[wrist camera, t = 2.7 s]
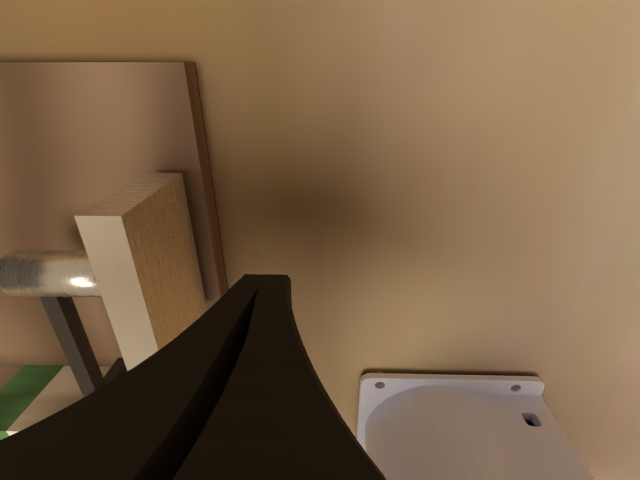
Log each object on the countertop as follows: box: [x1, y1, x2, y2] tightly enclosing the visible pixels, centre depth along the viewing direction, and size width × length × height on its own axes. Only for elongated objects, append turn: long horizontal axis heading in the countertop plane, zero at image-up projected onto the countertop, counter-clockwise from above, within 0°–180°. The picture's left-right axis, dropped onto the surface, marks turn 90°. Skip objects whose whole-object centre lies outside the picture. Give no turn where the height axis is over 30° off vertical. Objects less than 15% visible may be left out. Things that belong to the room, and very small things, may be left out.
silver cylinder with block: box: [0, 173, 207, 397], centre depth 13 cm, size 6×10×4 cm, turn 0°
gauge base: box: [0, 62, 228, 440], centre depth 12 cm, size 14×15×7 cm
